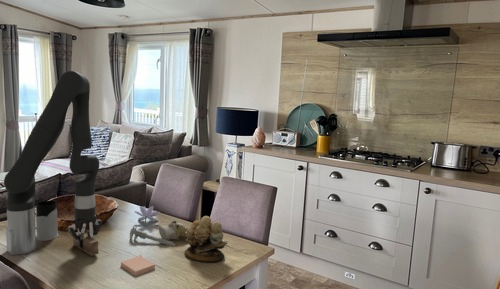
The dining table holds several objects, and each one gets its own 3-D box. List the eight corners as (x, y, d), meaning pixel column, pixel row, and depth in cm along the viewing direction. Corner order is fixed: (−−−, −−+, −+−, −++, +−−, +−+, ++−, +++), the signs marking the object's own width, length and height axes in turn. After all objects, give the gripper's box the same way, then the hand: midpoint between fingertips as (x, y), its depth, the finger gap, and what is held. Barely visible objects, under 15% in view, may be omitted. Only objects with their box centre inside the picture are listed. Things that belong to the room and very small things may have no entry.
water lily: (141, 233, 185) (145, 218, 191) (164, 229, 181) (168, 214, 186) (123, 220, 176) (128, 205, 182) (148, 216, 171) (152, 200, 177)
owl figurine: (231, 254, 153) (233, 214, 150) (220, 266, 141) (222, 223, 139) (191, 246, 158) (193, 208, 156) (178, 258, 147) (179, 216, 145)
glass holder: (51, 241, 156) (50, 206, 154) (18, 239, 156) (17, 204, 154) (62, 233, 165) (61, 200, 163) (31, 231, 165) (29, 198, 163)
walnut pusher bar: (90, 255, 142) (90, 243, 142) (73, 244, 153) (73, 233, 153) (98, 253, 145) (98, 241, 144) (80, 243, 155) (80, 231, 155)
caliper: (129, 240, 161) (129, 226, 160) (130, 239, 162) (130, 225, 161) (174, 246, 158) (175, 232, 157) (175, 245, 159) (176, 231, 158)
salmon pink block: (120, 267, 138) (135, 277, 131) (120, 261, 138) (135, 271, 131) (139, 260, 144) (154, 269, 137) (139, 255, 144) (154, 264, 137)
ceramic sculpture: (156, 217, 165) (188, 216, 172) (154, 236, 166) (187, 234, 173) (162, 226, 156) (196, 224, 163) (160, 245, 157) (194, 243, 164)
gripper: (70, 211, 139) (71, 255, 141) (106, 204, 149) (106, 245, 152) (62, 206, 144) (63, 248, 146) (98, 199, 154) (98, 239, 157)
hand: (85, 246), depth 149 cm, fingers closed on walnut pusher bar, 2 cm apart
